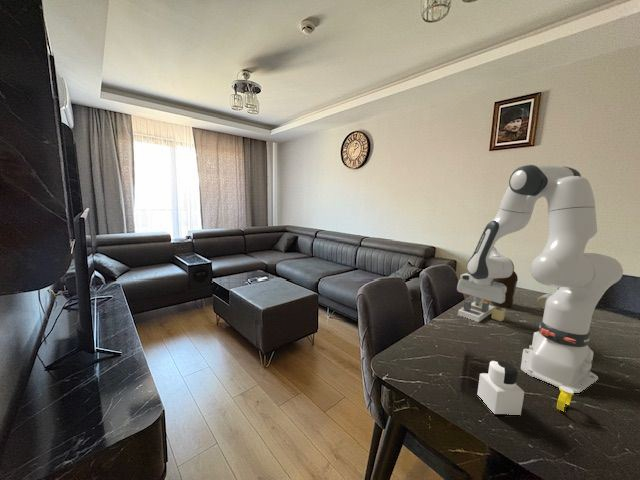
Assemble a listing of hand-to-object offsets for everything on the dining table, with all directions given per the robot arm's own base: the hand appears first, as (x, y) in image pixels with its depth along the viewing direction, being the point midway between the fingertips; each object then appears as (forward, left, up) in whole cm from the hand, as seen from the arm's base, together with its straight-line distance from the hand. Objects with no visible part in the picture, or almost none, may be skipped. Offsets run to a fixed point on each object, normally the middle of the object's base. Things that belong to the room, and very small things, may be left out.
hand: (478, 305), depth 124 cm
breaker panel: (+1, +1, -4) cm, 4 cm away
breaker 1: (-6, +3, -2) cm, 7 cm away
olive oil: (+25, -3, -5) cm, 25 cm away
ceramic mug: (+38, -21, -5) cm, 44 cm away
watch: (-45, -38, -5) cm, 59 cm away
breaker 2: (0, -3, -2) cm, 4 cm away
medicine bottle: (-58, -27, -5) cm, 64 cm away
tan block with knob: (+3, -8, -4) cm, 9 cm away
